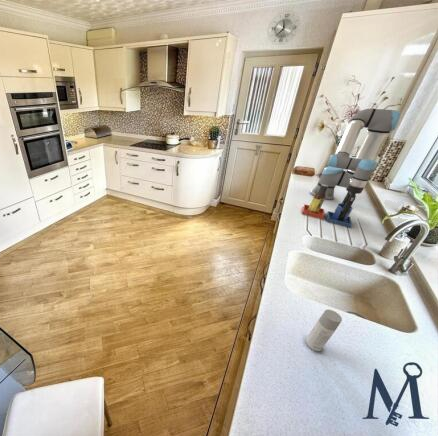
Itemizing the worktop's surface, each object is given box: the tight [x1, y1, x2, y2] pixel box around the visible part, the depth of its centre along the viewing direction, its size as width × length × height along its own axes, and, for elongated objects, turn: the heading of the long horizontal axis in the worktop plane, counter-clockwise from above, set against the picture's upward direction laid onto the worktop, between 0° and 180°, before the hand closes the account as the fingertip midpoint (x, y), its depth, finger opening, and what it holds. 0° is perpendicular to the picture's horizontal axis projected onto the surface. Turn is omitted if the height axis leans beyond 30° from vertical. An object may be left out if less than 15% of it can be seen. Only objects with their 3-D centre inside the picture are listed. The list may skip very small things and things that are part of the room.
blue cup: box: [332, 203, 354, 221], centre depth 150 cm, size 8×8×9 cm
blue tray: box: [326, 211, 353, 228], centre depth 152 cm, size 12×12×2 cm
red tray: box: [301, 203, 325, 220], centre depth 160 cm, size 12×12×2 cm
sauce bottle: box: [308, 184, 328, 214], centre depth 156 cm, size 6×6×20 cm
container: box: [305, 309, 343, 353], centre depth 74 cm, size 5×5×15 cm
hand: (339, 218), depth 152 cm, fingers closed on blue cup, 8 cm apart
